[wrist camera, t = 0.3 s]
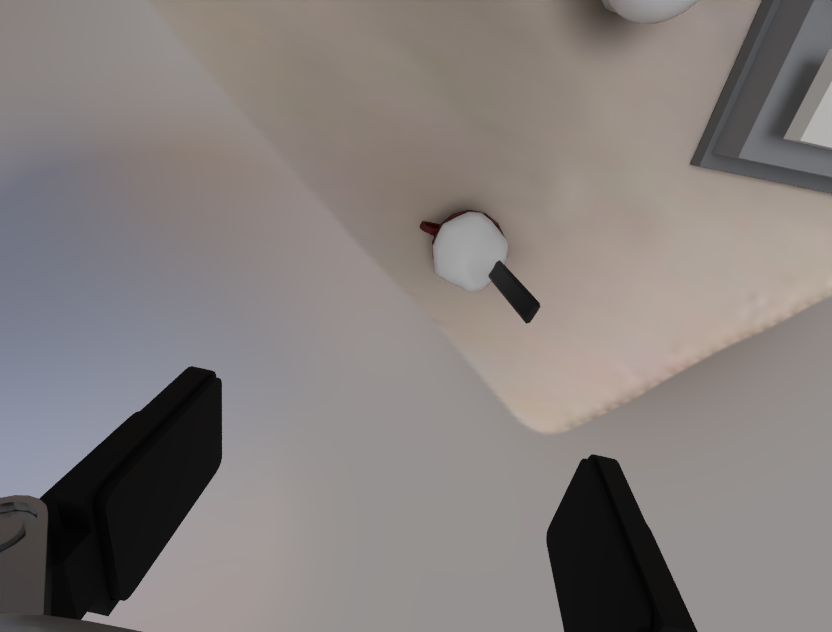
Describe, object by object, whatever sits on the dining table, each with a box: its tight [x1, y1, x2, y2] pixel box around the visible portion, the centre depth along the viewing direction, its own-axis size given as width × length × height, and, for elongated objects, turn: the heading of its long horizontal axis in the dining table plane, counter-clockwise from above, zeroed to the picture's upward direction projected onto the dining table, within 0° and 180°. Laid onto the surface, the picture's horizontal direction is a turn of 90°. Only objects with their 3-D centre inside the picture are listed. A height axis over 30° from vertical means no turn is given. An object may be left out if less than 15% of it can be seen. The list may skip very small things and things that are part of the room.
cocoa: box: [420, 210, 540, 323], centre depth 34 cm, size 10×6×12 cm, turn 43°
